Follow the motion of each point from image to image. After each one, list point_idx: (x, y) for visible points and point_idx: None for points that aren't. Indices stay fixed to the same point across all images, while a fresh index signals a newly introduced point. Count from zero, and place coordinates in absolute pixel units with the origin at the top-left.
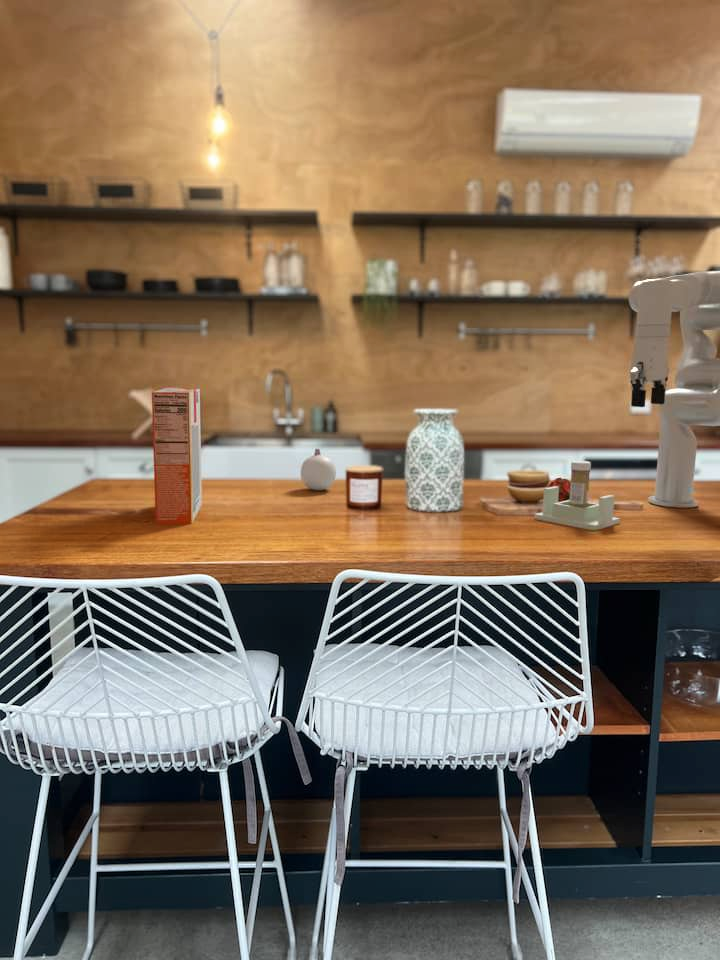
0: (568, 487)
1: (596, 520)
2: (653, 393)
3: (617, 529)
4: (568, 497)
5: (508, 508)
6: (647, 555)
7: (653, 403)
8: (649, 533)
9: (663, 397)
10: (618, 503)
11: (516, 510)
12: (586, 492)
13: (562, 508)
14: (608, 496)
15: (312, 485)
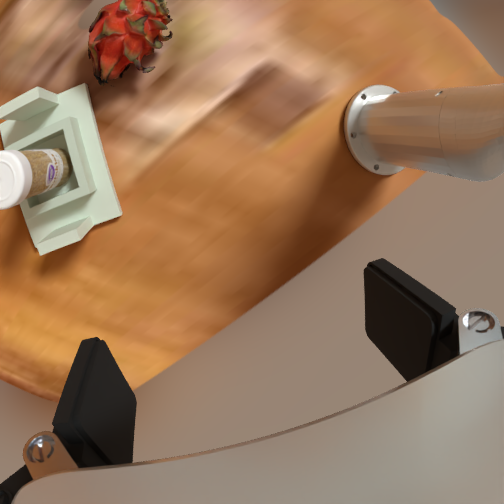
0: (115, 50)
1: (63, 214)
2: (404, 310)
3: (83, 252)
4: (100, 76)
5: (29, 26)
6: (36, 373)
7: (367, 278)
8: (117, 295)
9: (389, 357)
10: (290, 66)
11: (28, 46)
12: (37, 194)
13: None
14: (60, 243)
15: None
